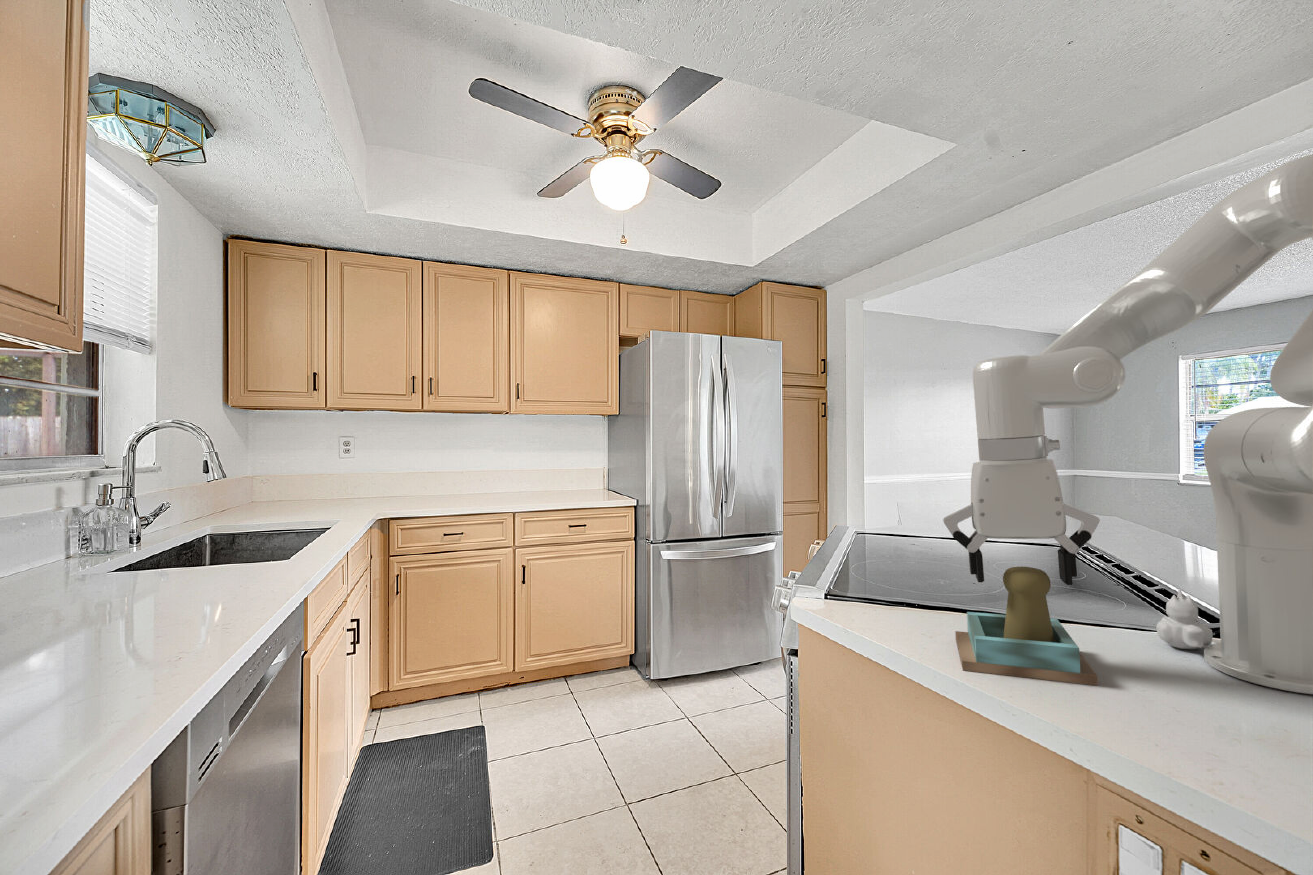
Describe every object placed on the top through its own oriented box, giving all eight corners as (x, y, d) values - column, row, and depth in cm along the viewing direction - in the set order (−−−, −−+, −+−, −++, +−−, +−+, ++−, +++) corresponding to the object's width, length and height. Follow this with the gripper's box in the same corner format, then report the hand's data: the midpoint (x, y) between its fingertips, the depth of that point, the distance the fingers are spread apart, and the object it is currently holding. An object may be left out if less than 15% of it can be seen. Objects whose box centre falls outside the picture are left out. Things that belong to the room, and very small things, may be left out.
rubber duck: (1197, 641, 77) (1194, 583, 77) (1226, 661, 70) (1224, 598, 70) (1148, 638, 79) (1145, 581, 78) (1173, 657, 72) (1170, 595, 72)
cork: (1046, 644, 75) (1043, 563, 75) (1065, 662, 70) (1062, 574, 69) (996, 641, 77) (992, 562, 77) (1010, 659, 71) (1006, 573, 71)
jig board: (1072, 650, 76) (1070, 619, 76) (1097, 685, 66) (1096, 650, 66) (955, 639, 82) (954, 610, 82) (962, 670, 72) (961, 637, 71)
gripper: (1083, 445, 73) (1094, 575, 73) (936, 453, 80) (946, 572, 80) (1102, 448, 66) (1113, 591, 66) (939, 457, 73) (950, 586, 73)
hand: (1021, 580), depth 73 cm, fingers open, 9 cm apart
